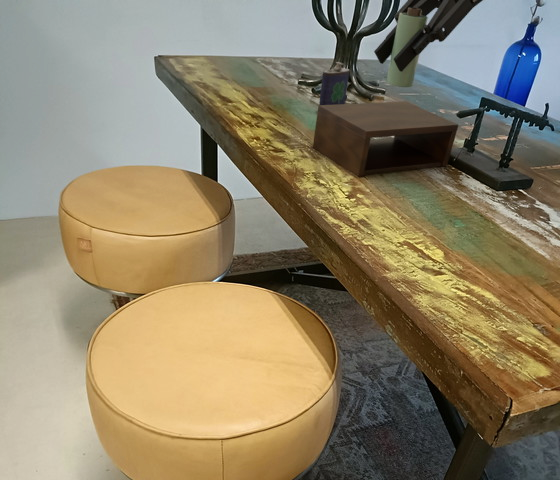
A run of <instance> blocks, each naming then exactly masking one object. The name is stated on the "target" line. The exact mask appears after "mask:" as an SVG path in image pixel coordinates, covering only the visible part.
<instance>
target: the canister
mask: <svg viewBox="0 0 560 480" xmlns="http://www.w3.org/2000/svg"><path fill="white" fill-rule="evenodd" d="M421 12H422V9H419V8H413V7H409V8H408V12H407V13H400V14H399V18H398V23H397V22H396V25H397V28H396V33H395V38H394V43H393V48H392V53H391V55H390V57H389V58H390V59H389V63H388V69H387V73H386V79H385V83H386V84H388V85H391V86H393V87H398V88H411V87H413V86H414V85H413V84H414V80H415V76H416V71H417V67H418V63H419V58H420V54H419V55H417V56H416V57H415V58H414V59H413V60H412V61H411V62H410V63H409V64H408V65H407V67H406V68H405V69H404V70H403V71H402V72H401V71H399V69H398V67H397V65H396V63H395V61H394V57H395V56H396V55H397V54H398V53H399V52H400V51H401V50H402V49H403V48H404V46H405V45H406V44H407V43H408V42H409V41H410V40H411V39H412V38H413V36H414V35H415V34H416V33H417V32H418V31H419V30H420V29H421V30H423V32H424V33H425V30H424V28H423V25H424V26H425V25H428V19H429V17H428V15H427V16H424V15H421Z"/></svg>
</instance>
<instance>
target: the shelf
mask: <svg viewBox="0 0 560 480" xmlns="http://www.w3.org/2000/svg"><path fill="white" fill-rule="evenodd" d="M316 112H317V113H316V119H315V128H314V135H313V142H312V148H313V149H314V150H316V151H318V152H319V153H321V154H322V155H323V156H325V157H326V158H329V159H330V160H332V161H333V162H334V163H336V164H338V165H339V166H340V167H342V168H344V169H346V170H347V171H349V172H350V173H352V174H354V175H355V176H357V177H359V178H360V177H364V176H367V175H377V174H383V173H384V174H385V173H392V172H393V173H394V172H402V171H411V170H419V169H428V168H437V167H443V168H445V167H448V163H449V160H450V156H451V153H452V150H453V147H454V143H455V139H456V136H457V131H458V129H459V124H458V123H456V122H453V121H451V120H449V119H446V118H444V117H442V116H441V115H438V114H435V113H434V112H431V111H429V110H427V109H424V108H422V107H420V106H418V105H416V104H414V103H411V102H409V101H407V100H405V101H384V102H382V101H381V102H362V103H345V104H337V105H319V104H318V106H317V111H316Z"/></svg>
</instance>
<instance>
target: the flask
mask: <svg viewBox="0 0 560 480" xmlns="http://www.w3.org/2000/svg"><path fill="white" fill-rule="evenodd" d="M335 63H336V64H335V66H334V67H332V68H331V69H330V68H327V70H326V69H325V70H323V72H322V77H321V78H322V79H321V86H320V92H319V102H318V105H337V104H346V96H347V90H348V84H349V77H350V72H351V70H350V69H349V68H345V67H342V66H344V63H343V62H339V61H335Z"/></svg>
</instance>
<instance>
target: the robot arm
mask: <svg viewBox="0 0 560 480" xmlns="http://www.w3.org/2000/svg"><path fill="white" fill-rule="evenodd" d="M483 1H484V0H407V1H406V2H405V3H404V4H403V5H402V6H401V7H400V8H399V9H398V11H397V12H396V13H395V14H394V16H393V18H394V20H395V22H396V25H395V26H394V27H393V28H392V29H391V31H390V32H388V34H387V35H386V36H385V38H384V39H383V41H382V42H381V43H380V44H379V45H378V46H377V48H376V49H374V51H373V52H374V54H375V56H376V58H377V60H378V62H379V63H380V64H381V65H383V64H384V63H385V62H386V61H387V60H388V59H389V58H390V57H391V53H392V48H393V43H394V38H395V33H396V28H397V23H398V18H399V14H400V13H407V12H408V8H409V7H413V8H419V9H422V12H421V15H424V16H427V17H428V15H429V14H430V13H432V12H433V11H434V10H435V9H436V11H435V12H434V14H433V15H432V17H431V19H430V20H429V21H428V22H427V24H426V25H425V26H424V25H423V28H424V30H425V33H424V32H423V30H421V29H420V30H419V31H418V32H417V33H416V34H415V35H414V36H413V38H412V39H411V40H410V41H409V42H408V43H407V44H406V45H405V46H404V48H403V49H402V50H401V51H400V52H399V53H398V54H397V55H396V56H395V57H394V61H395V63H396V65H397V67H398V69H399V71H401V72H402V71H403V70H404V69H405V68H406V67H407V65H408V64H409V63H410V62H411V61H412V60H413V59H414V58H415V57H416V56H417V55H419V56H420V54H421V53H422V52H423V51H425V49H426V48H427V47H428V46H429V44H430V43H431V44H432V43H434V42H435V41H438V42H439V43H442V42H444V41H445V40H446V39H447V38H448V37H449V36H450V35H451V33H452V32H453V31H454V30H455V29H456V28H457V27H458V25H460V24H461V22H462V21H463V20H464V19H465V18H466V17H467V15H469V13H470V12H471V11H472V10H473V9H474V8H475V7H476V6H478V5H479V4H480V3H481V2H483Z"/></svg>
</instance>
